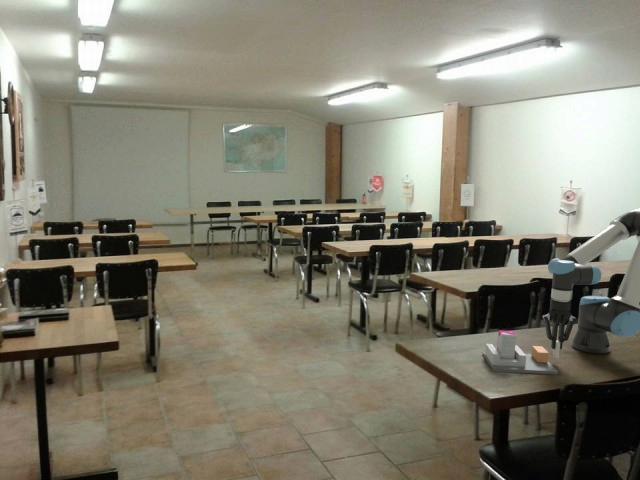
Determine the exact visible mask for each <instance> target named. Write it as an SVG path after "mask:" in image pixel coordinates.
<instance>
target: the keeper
mask: <svg viewBox="0 0 640 480" xmlns="http://www.w3.org/2000/svg"><path fill="white" fill-rule="evenodd" d="M549 353H550V352H549V351H548V350H547V349H546V348H544V346H542V345H541V346H539V345H531V353H530V354H531V355H532V357H533V358H534V359H535V360H536V361H537V362H544V363H548V361H549V357H550V355H549Z"/></svg>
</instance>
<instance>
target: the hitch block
mask: <svg viewBox="0 0 640 480" xmlns="http://www.w3.org/2000/svg"><path fill="white" fill-rule="evenodd" d="M482 356H483V357H484V359H485V360H486V362H487V363H488V365H489V366H490V367H491V369H492V370H493V372H499V373H500V372H501V373H502V372H503V373H519V374H520V373H522V374H539V375H540V374H542V375H559V370H557V369H556V368H555V366H554V365H553V364H552V363H551V362H550V361H549V360H548V363H544V362H537V361H536V360H535V359H534V358H533V357H532V355H531V353H524V351H523V350H522V349H521V348H520V347H519V346H518V345H517V344H516V345H515V356H514V360H511V359H500V354H499V353H498V351H497V347H495V346H494V345H493V344H492V343H486V344H485V351H482Z"/></svg>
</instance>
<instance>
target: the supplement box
mask: <svg viewBox="0 0 640 480" xmlns="http://www.w3.org/2000/svg"><path fill="white" fill-rule="evenodd" d="M497 334H498V336H497V344H496V345H497V346H496V350H497V351H498V353H499V354H500V359H511V360H514V356H515V345H517V343H516V342H517V335H516V333H515V332H514V331H512V330H500V329H499V330H498V333H497Z"/></svg>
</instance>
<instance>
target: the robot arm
mask: <svg viewBox="0 0 640 480" xmlns="http://www.w3.org/2000/svg"><path fill="white" fill-rule="evenodd" d="M631 237H636V240H637V241H638V242H637V245H636V248H635V250H634V252H633V254H632V258H631V259H630V262H629V265H628V267H627V269H626V271H625V274H624V276H623V279H622V281H621V283H620V286H619V288H618V290H617V294H616V295H614V296H613V297H611V298H610V297H608V296H600V295H599V296H598V295H597V296H596V295H586V296H582V297H581V298H580V301H579V305H578V319H577V317H575V316H573V315H572V313H571V310H572V300H573V289H574V286H575V285H578V286H579V285H590V286H591V285H596V284H598V283H599V282H600V281H601V279H602V271H601V269H600V267H598V266H597V265H591V264H589V265H588V263H590V262H592V261H593V260H594V259H596V258H598V257H599V256H600V255H601V254H603V253H604V252H606V251H607V250H609V249H611V248H612V247H614V246H615V245H616V244H617V243H619V242H621V241H622V240H623V241H626V240H628V239H629V238H631ZM547 269H548V273H549V274H551V275H552V282H551V283H552V284H551V294H550V298H551V299H550V302H549V303H550V304H549V305H550V306H549V311H548V313H547V314H543V315H542V316H541V318H542V319H543V321H544V325H545V333H546V338H547V339H548V340H549V341H551V345H550V347H551V350H552V357H553V358H555V359H560V351H561V350H562V349H563V343H564V342H567V341H569V338H570V335H571V332H572V329H573V326H574V325H575V323H576V322H577V330H576V331H575V333H574V335H573V337H572V340H571V346H572V347H573V348H574V349H576V350H579V351H581V352H586V353H590V354H591V353H593V354H607V353H610V351H611V343H610V338H609V335H608V333H611V334H613V335H615V336H619V337H623V338H631V337H632V336H635V335H636V334H637V333H639V332H640V208H635V209H631V210H630V211H628V212H624V213H623V214H621V215H619V216H618V217H616V218H615V219H613V220H611V222H610V223H609V225H608V226H607V227H605V228H604V229H603V230H601V231H600V232H598V233H596V234H595V235H594V236H593V237H592V238H589V239H588V240H587V241H586V242H584V243H582V244H581V245H579V246H578V247H576V248H575V249H573V250H572V251H571V252H569V253H568V254H567V255H565V256H563V257H561V258H556V257H555V258H552V259H551V260H550V261H549V262H548V264H547ZM550 319H551V320H552V329H551V324H550ZM577 320H578V321H577ZM566 322H567V325H566Z"/></svg>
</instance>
